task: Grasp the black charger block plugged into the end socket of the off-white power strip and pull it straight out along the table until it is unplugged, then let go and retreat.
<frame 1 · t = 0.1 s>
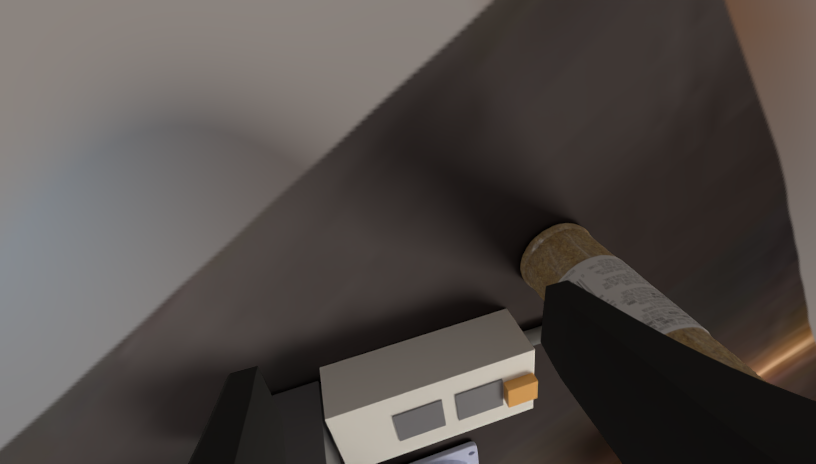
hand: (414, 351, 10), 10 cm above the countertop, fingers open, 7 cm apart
charger: (309, 453, 23), point 3 cm above the countertop, slide at 0.0 cm
power strip: (419, 367, 26), on the countertop
sprinkles bottle: (551, 251, 24), on the countertop
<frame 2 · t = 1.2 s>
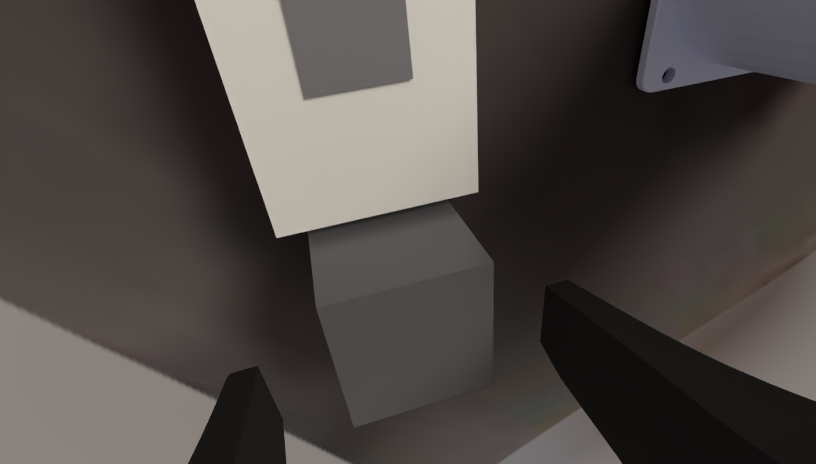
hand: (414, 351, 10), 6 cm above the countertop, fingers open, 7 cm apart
charger: (387, 255, 12), point 3 cm above the countertop, slide at 0.0 cm
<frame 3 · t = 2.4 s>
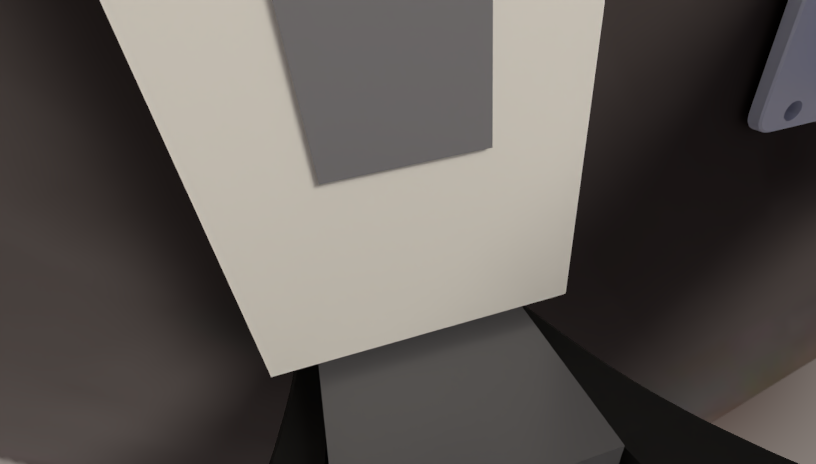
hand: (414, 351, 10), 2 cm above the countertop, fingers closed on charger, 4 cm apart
charger: (429, 377, 8), point 3 cm above the countertop, slide at 0.0 cm, touching gripper
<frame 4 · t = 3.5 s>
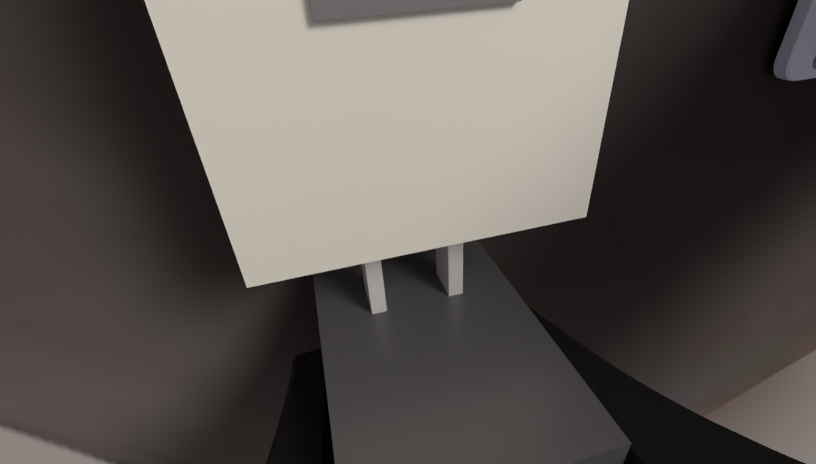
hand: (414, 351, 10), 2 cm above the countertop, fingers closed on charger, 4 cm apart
charger: (431, 373, 8), point 3 cm above the countertop, slide at 1.7 cm, touching gripper
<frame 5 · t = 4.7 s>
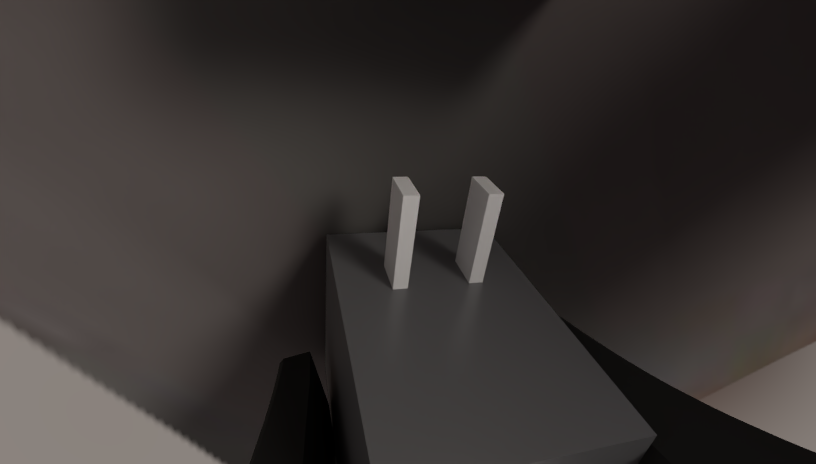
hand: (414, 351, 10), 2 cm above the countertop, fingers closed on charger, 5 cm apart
charger: (442, 358, 8), point 3 cm above the countertop, slide at 5.3 cm, touching gripper
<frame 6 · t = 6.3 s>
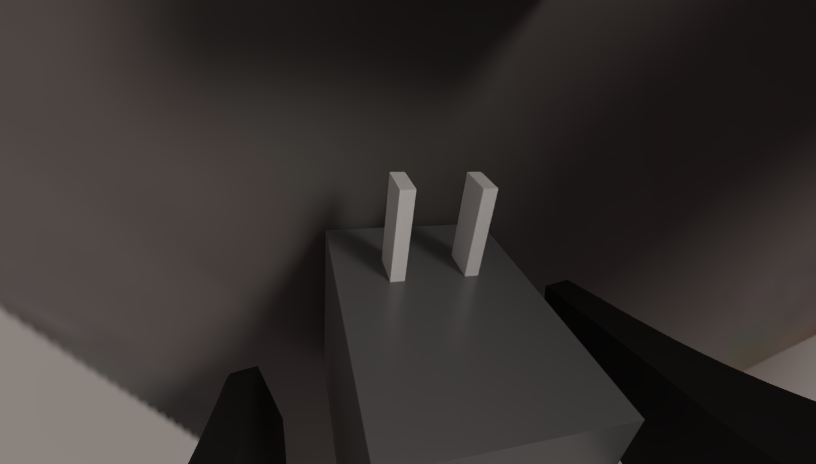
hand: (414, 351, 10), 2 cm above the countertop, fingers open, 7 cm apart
charger: (438, 350, 8), point 3 cm above the countertop, slide at 5.3 cm
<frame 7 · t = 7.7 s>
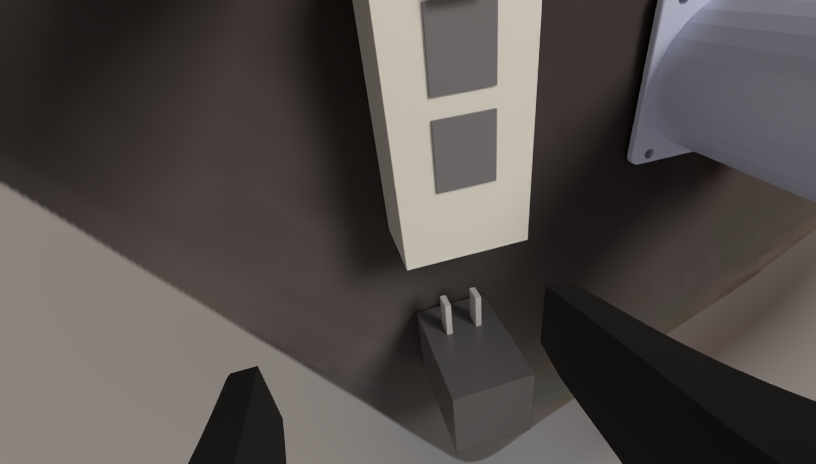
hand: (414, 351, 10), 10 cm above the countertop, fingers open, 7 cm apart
charger: (470, 356, 22), point 3 cm above the countertop, slide at 5.3 cm
power strip: (434, 101, 17), on the countertop
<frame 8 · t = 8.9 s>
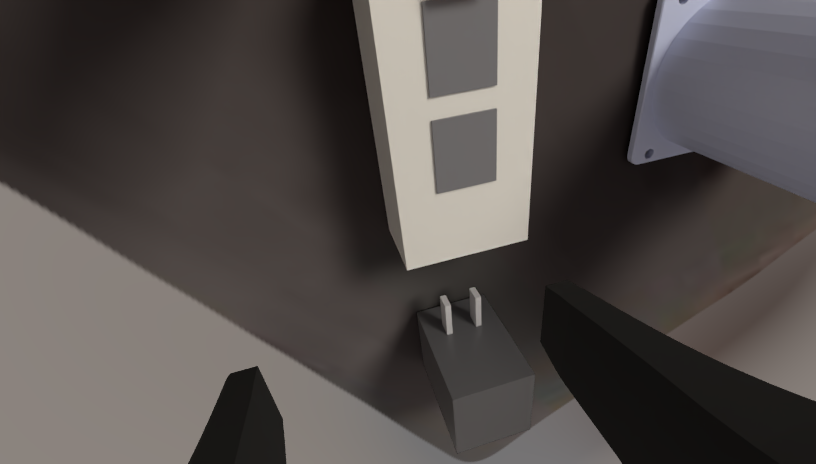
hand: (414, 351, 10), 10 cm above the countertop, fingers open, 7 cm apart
charger: (470, 356, 22), point 3 cm above the countertop, slide at 5.3 cm
power strip: (434, 101, 17), on the countertop
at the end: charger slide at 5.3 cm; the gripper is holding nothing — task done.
